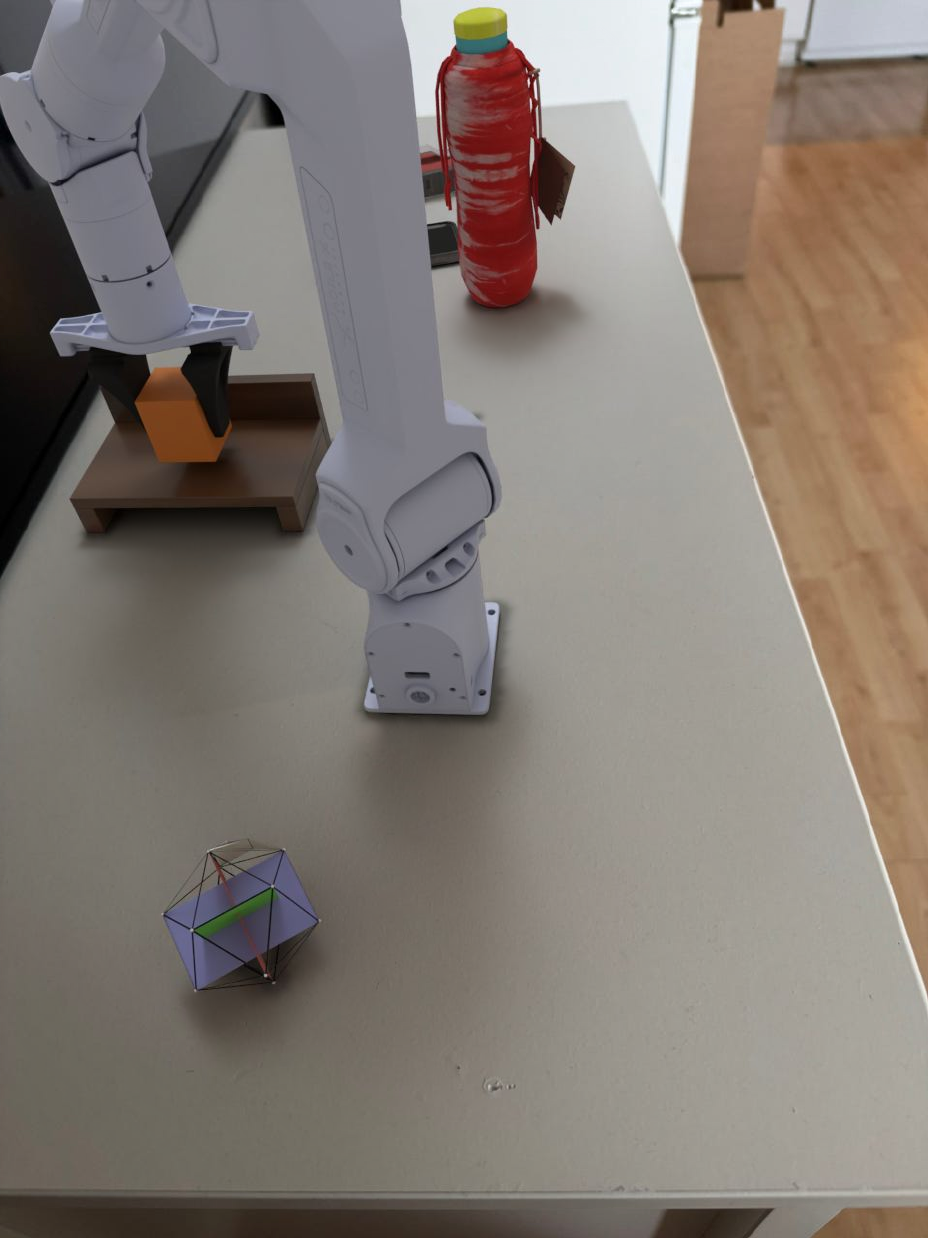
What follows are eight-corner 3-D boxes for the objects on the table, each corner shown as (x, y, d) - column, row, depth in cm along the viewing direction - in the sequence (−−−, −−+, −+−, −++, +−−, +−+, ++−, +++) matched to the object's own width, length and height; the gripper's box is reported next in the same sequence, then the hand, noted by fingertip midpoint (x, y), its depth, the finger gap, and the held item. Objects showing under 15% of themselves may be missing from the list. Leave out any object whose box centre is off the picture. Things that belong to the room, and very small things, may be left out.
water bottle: (571, 267, 98) (566, -14, 80) (579, 306, 93) (575, 13, 75) (455, 279, 99) (424, 2, 81) (456, 318, 93) (423, 30, 75)
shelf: (303, 531, 74) (281, 458, 68) (86, 532, 76) (50, 462, 71) (331, 444, 81) (314, 372, 76) (133, 447, 84) (104, 378, 79)
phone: (321, 241, 106) (454, 219, 106) (323, 251, 106) (455, 229, 107) (324, 273, 100) (464, 250, 101) (327, 283, 101) (465, 260, 101)
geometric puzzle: (349, 977, 47) (282, 837, 45) (219, 1054, 45) (143, 910, 43) (320, 924, 53) (261, 800, 52) (206, 989, 51) (140, 862, 50)
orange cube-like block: (216, 461, 72) (194, 400, 68) (159, 462, 73) (134, 402, 69) (232, 426, 75) (212, 365, 72) (177, 427, 76) (154, 367, 72)
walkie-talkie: (479, 158, 120) (324, 188, 118) (476, 120, 117) (316, 151, 115) (497, 184, 114) (333, 217, 112) (494, 146, 111) (326, 179, 109)
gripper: (247, 228, 65) (293, 398, 75) (51, 239, 67) (120, 402, 77) (219, 279, 60) (271, 453, 70) (8, 288, 62) (88, 456, 72)
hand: (190, 430), depth 73 cm, fingers closed on orange cube-like block, 4 cm apart
